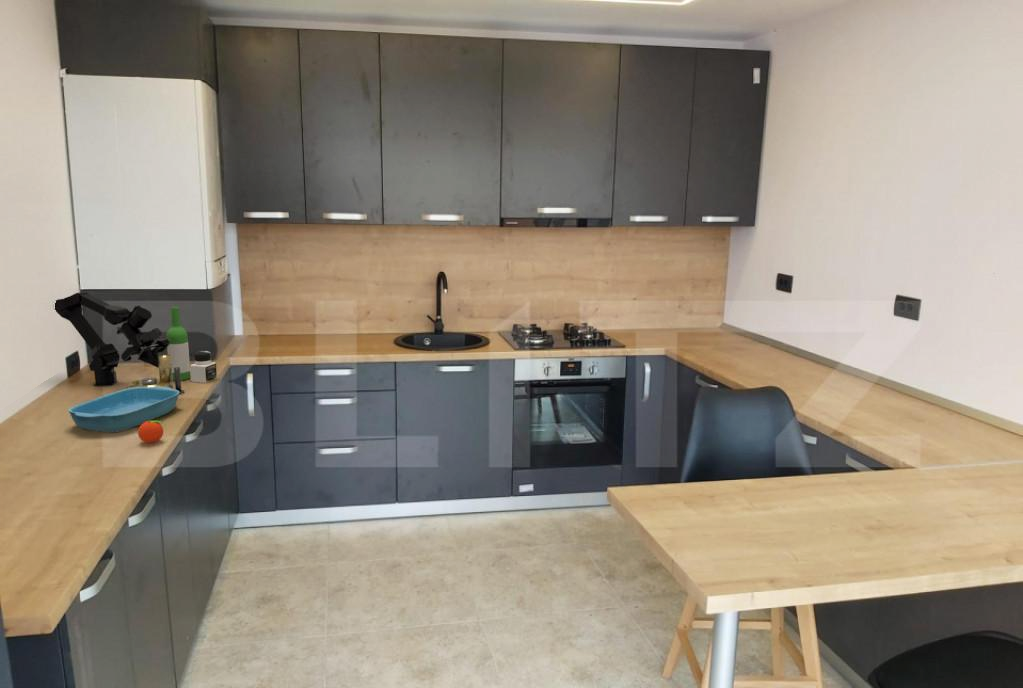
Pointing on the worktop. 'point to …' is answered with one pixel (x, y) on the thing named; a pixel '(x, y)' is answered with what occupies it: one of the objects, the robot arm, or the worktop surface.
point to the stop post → (178, 380)
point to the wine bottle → (178, 346)
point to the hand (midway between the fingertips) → (159, 366)
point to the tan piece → (164, 375)
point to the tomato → (150, 431)
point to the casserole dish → (124, 408)
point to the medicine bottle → (203, 368)
